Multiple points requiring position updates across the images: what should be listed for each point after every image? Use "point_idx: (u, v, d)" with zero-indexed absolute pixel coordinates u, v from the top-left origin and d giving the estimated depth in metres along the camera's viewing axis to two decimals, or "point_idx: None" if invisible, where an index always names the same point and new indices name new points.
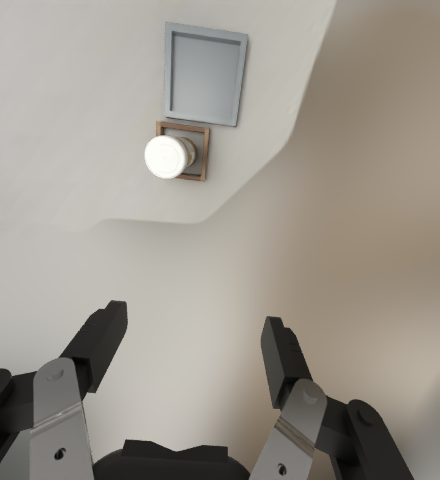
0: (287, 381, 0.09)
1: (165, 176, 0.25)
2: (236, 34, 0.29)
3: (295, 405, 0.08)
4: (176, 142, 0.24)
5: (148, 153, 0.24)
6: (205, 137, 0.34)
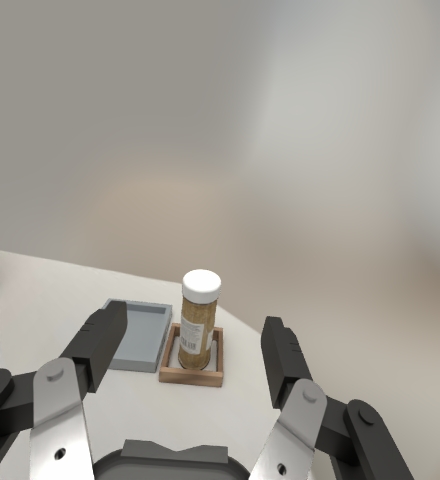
0: (287, 381, 0.09)
1: (218, 280, 0.26)
2: (105, 304, 0.36)
3: (295, 405, 0.08)
4: (189, 272, 0.27)
5: (198, 287, 0.24)
6: (180, 325, 0.34)
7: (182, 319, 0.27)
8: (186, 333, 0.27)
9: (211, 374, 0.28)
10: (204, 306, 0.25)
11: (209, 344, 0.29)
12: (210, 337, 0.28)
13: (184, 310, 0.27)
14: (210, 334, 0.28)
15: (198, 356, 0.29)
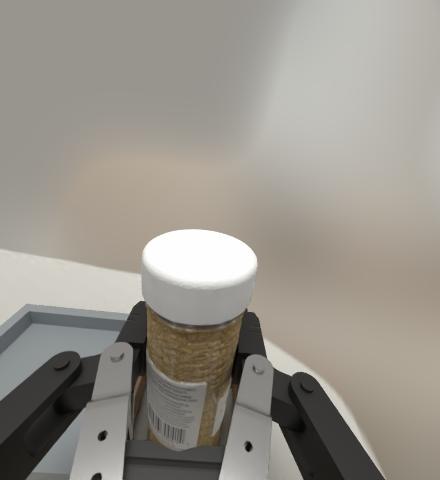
0: (241, 357, 0.10)
1: (249, 253, 0.09)
2: (14, 316, 0.19)
3: (242, 376, 0.09)
4: (165, 233, 0.10)
5: (189, 271, 0.07)
6: None
7: (147, 363, 0.10)
8: (159, 402, 0.10)
9: None
10: (208, 332, 0.08)
11: (220, 420, 0.12)
12: (223, 406, 0.11)
13: (150, 341, 0.09)
14: (223, 400, 0.11)
15: None
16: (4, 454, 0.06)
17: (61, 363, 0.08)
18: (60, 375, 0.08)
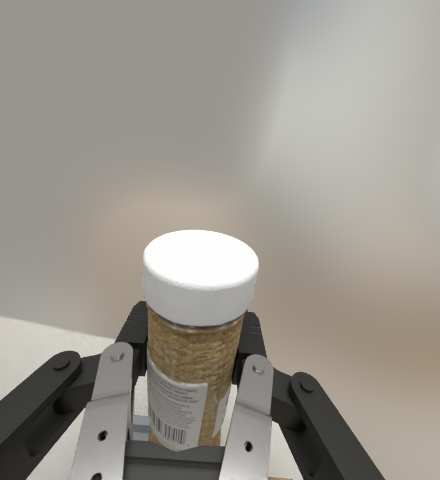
0: (241, 357, 0.10)
1: (250, 254, 0.09)
2: None
3: (242, 376, 0.09)
4: (166, 234, 0.10)
5: (190, 272, 0.07)
6: None
7: (148, 364, 0.10)
8: (160, 403, 0.10)
9: None
10: (209, 333, 0.08)
11: (221, 421, 0.12)
12: (224, 407, 0.11)
13: (151, 342, 0.09)
14: (224, 401, 0.11)
15: None
16: (4, 454, 0.06)
17: (61, 363, 0.08)
18: (60, 375, 0.08)
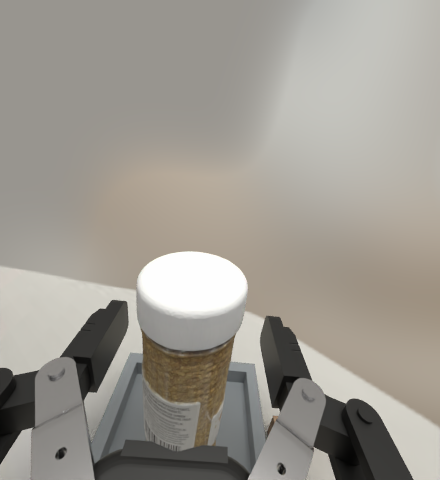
0: (286, 380, 0.09)
1: (240, 277, 0.09)
2: (125, 369, 0.17)
3: (294, 404, 0.08)
4: (159, 257, 0.10)
5: (181, 300, 0.08)
6: None
7: (143, 383, 0.10)
8: (154, 420, 0.10)
9: None
10: (199, 356, 0.08)
11: (214, 436, 0.12)
12: (217, 422, 0.11)
13: (145, 362, 0.10)
14: (217, 417, 0.11)
15: None
16: None
17: None
18: None
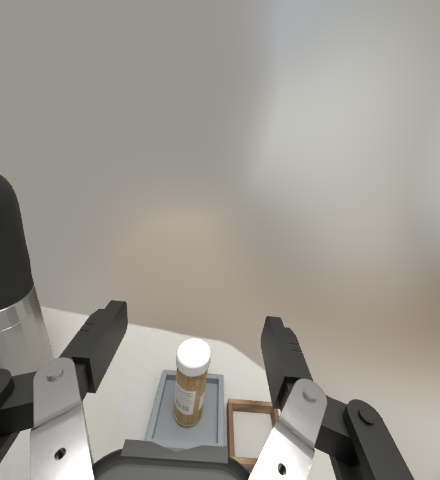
0: (287, 381, 0.09)
1: (208, 351, 0.29)
2: (162, 378, 0.38)
3: (295, 405, 0.08)
4: (182, 342, 0.30)
5: (190, 363, 0.28)
6: (236, 402, 0.36)
7: (176, 385, 0.30)
8: (180, 397, 0.30)
9: None
10: (195, 378, 0.28)
11: (201, 404, 0.32)
12: (202, 399, 0.31)
13: (178, 378, 0.30)
14: (202, 397, 0.31)
15: (191, 416, 0.32)
16: None
17: None
18: None
